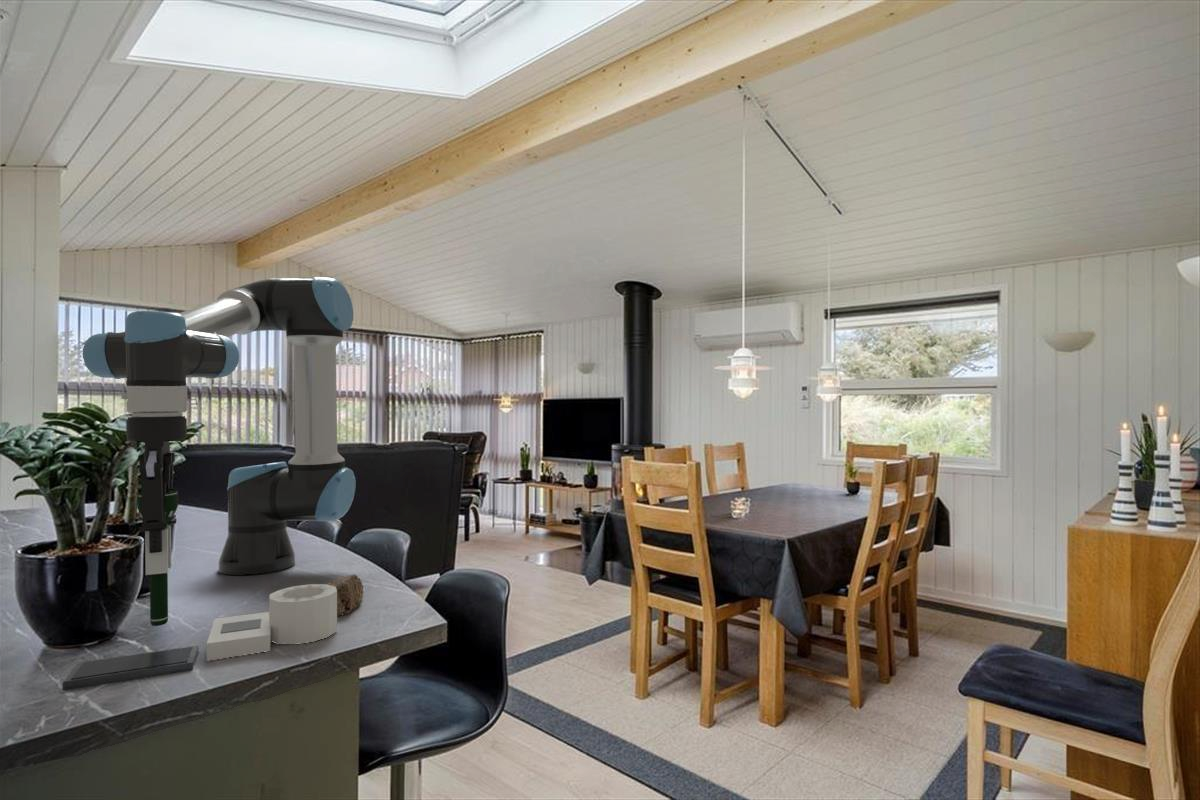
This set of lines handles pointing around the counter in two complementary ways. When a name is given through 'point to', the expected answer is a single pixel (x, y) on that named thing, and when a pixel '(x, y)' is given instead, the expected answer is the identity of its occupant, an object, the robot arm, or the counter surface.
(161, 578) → the flashlight
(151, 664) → the phone
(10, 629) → the counter surface
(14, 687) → the counter surface
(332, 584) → the rock
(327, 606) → the block
